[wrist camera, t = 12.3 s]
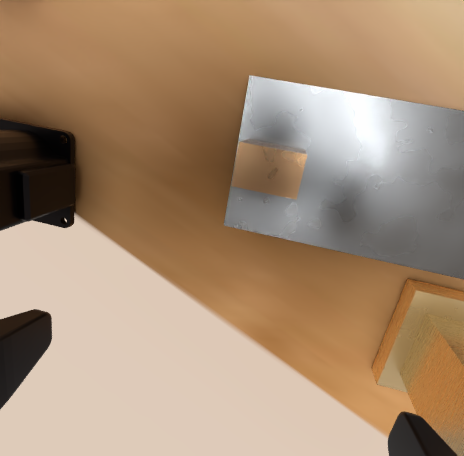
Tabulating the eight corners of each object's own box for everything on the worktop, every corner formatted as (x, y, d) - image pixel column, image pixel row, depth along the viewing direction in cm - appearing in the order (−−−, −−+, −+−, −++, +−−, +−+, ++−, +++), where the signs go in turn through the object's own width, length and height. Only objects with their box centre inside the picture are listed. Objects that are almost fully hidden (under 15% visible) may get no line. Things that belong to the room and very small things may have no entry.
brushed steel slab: (230, 216, 20) (211, 243, 16) (254, 80, 18) (240, 64, 13) (497, 275, 19) (566, 325, 14) (569, 133, 16) (683, 137, 11)
